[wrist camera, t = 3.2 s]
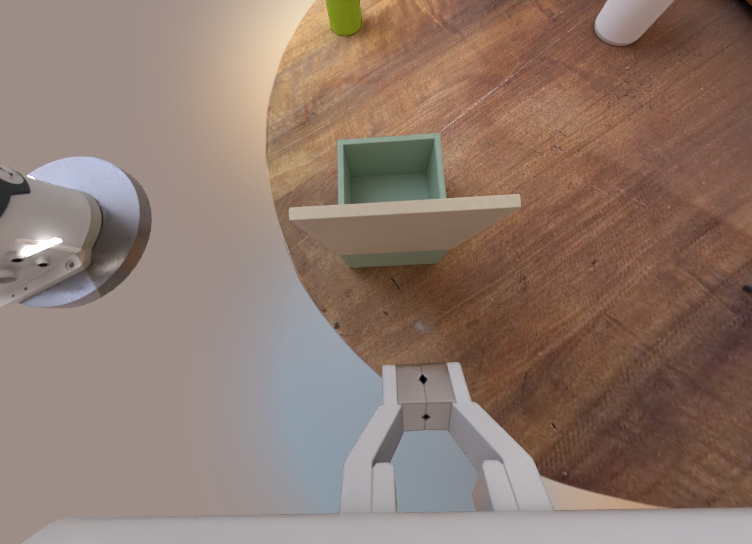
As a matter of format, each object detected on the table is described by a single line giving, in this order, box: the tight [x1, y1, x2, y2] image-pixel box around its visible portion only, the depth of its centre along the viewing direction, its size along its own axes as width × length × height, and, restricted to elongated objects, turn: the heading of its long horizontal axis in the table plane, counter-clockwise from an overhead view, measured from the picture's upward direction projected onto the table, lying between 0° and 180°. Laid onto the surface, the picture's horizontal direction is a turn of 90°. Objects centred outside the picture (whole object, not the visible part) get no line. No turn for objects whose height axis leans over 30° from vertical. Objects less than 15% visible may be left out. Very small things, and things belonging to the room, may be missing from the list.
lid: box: [289, 194, 521, 255], centre depth 24 cm, size 16×14×1 cm
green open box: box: [337, 133, 449, 268], centre depth 38 cm, size 16×14×9 cm
